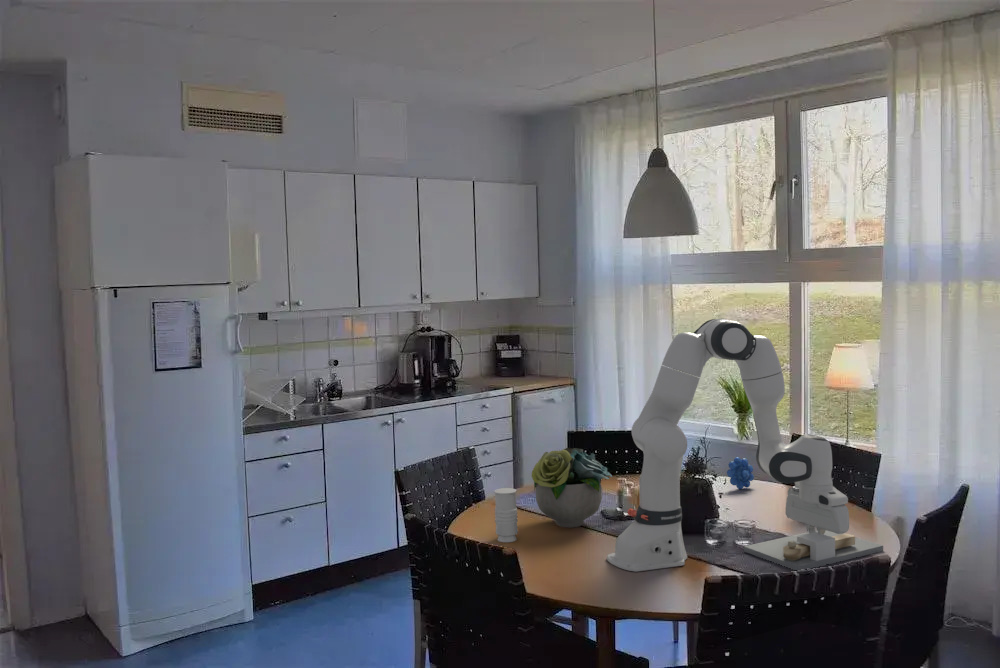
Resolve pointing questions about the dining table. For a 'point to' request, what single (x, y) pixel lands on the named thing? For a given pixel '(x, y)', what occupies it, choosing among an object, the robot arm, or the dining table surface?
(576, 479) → the flower arrangement
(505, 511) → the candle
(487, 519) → the dining table surface
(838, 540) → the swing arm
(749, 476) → the grapes
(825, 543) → the base
